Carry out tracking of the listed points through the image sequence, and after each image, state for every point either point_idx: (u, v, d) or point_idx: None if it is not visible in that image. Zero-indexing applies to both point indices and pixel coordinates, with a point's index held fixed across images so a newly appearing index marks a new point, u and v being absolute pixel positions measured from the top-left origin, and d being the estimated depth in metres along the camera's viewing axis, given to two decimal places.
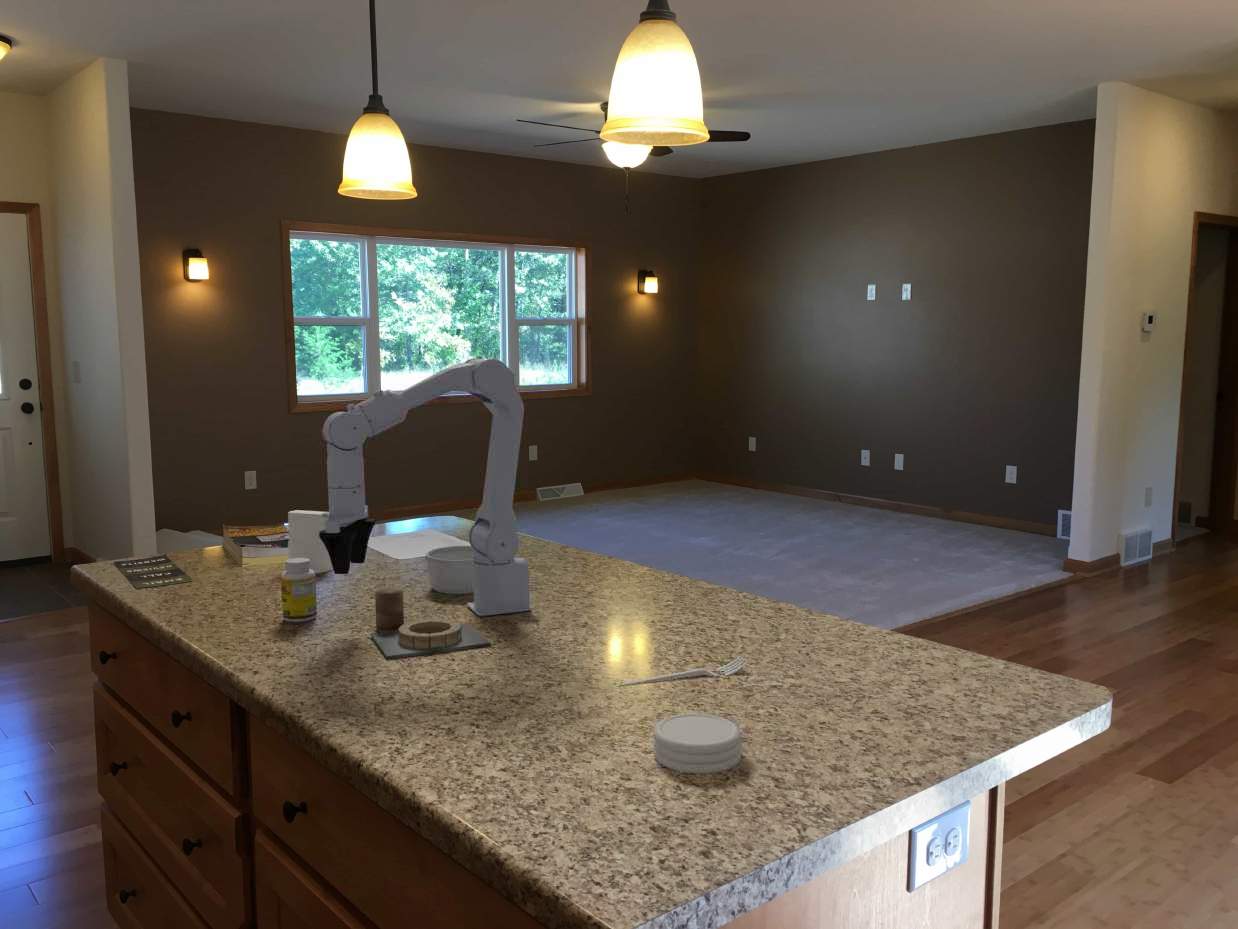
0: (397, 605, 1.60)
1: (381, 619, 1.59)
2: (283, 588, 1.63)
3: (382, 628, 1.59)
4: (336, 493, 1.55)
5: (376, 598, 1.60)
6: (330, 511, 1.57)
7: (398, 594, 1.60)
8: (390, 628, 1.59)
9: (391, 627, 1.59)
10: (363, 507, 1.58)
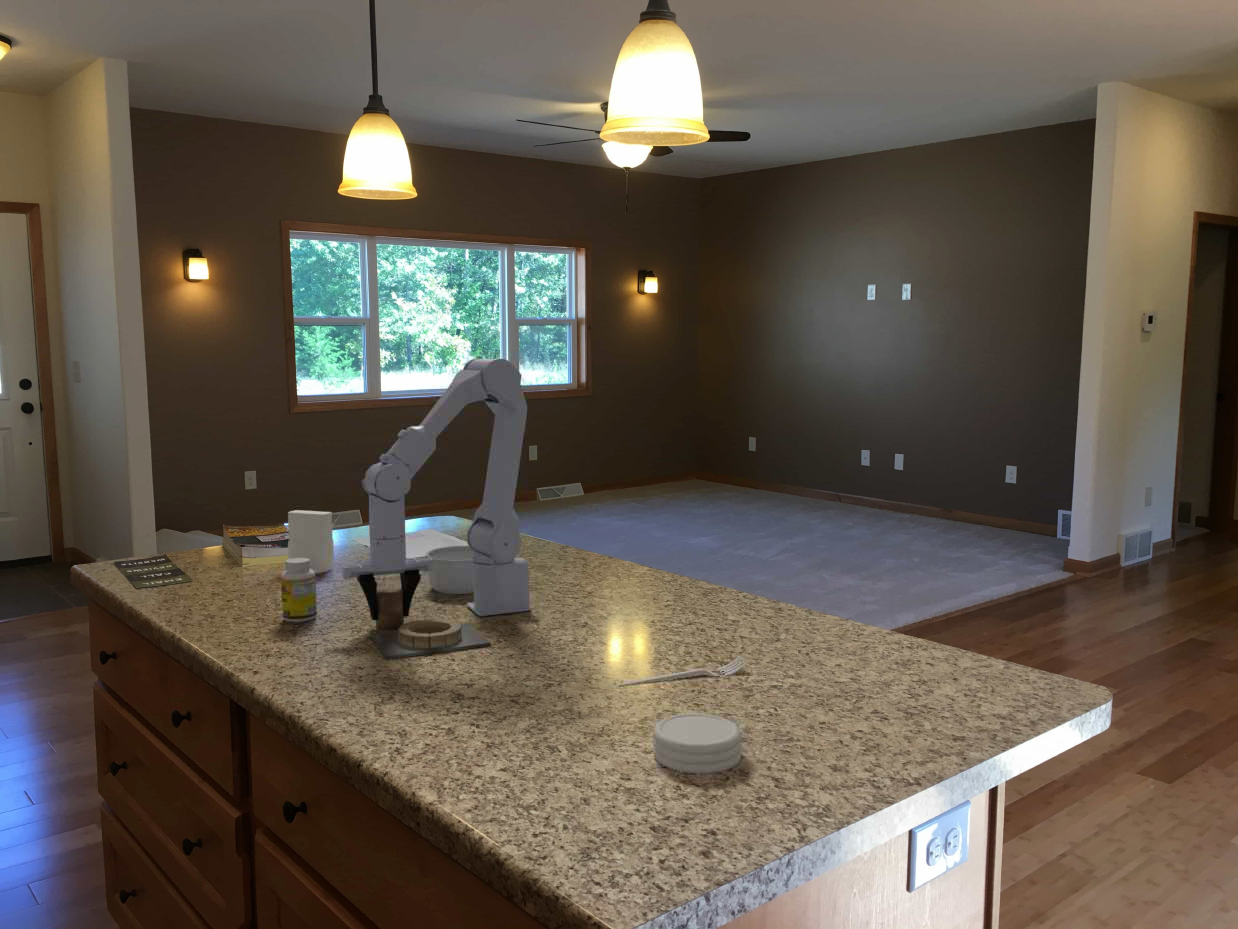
0: (397, 605, 1.60)
1: (381, 619, 1.59)
2: (283, 588, 1.63)
3: (382, 628, 1.59)
4: None
5: (376, 598, 1.60)
6: None
7: (398, 594, 1.60)
8: (390, 628, 1.59)
9: (391, 627, 1.59)
10: (389, 560, 1.57)
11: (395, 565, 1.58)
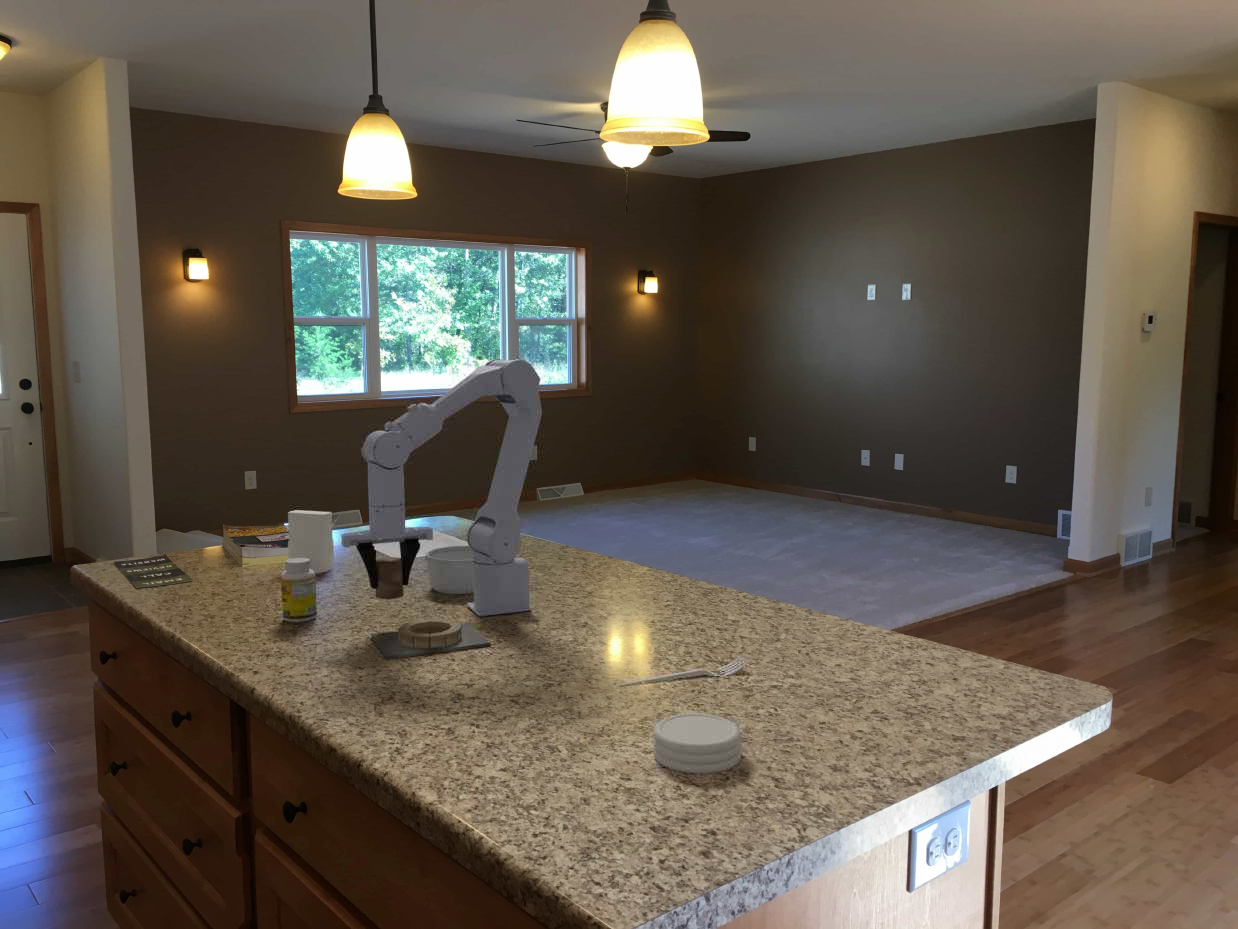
0: (397, 573, 1.59)
1: (381, 587, 1.59)
2: (283, 588, 1.63)
3: (382, 596, 1.59)
4: None
5: None
6: None
7: (397, 562, 1.59)
8: (390, 596, 1.59)
9: (391, 595, 1.59)
10: (388, 528, 1.57)
11: (394, 533, 1.57)
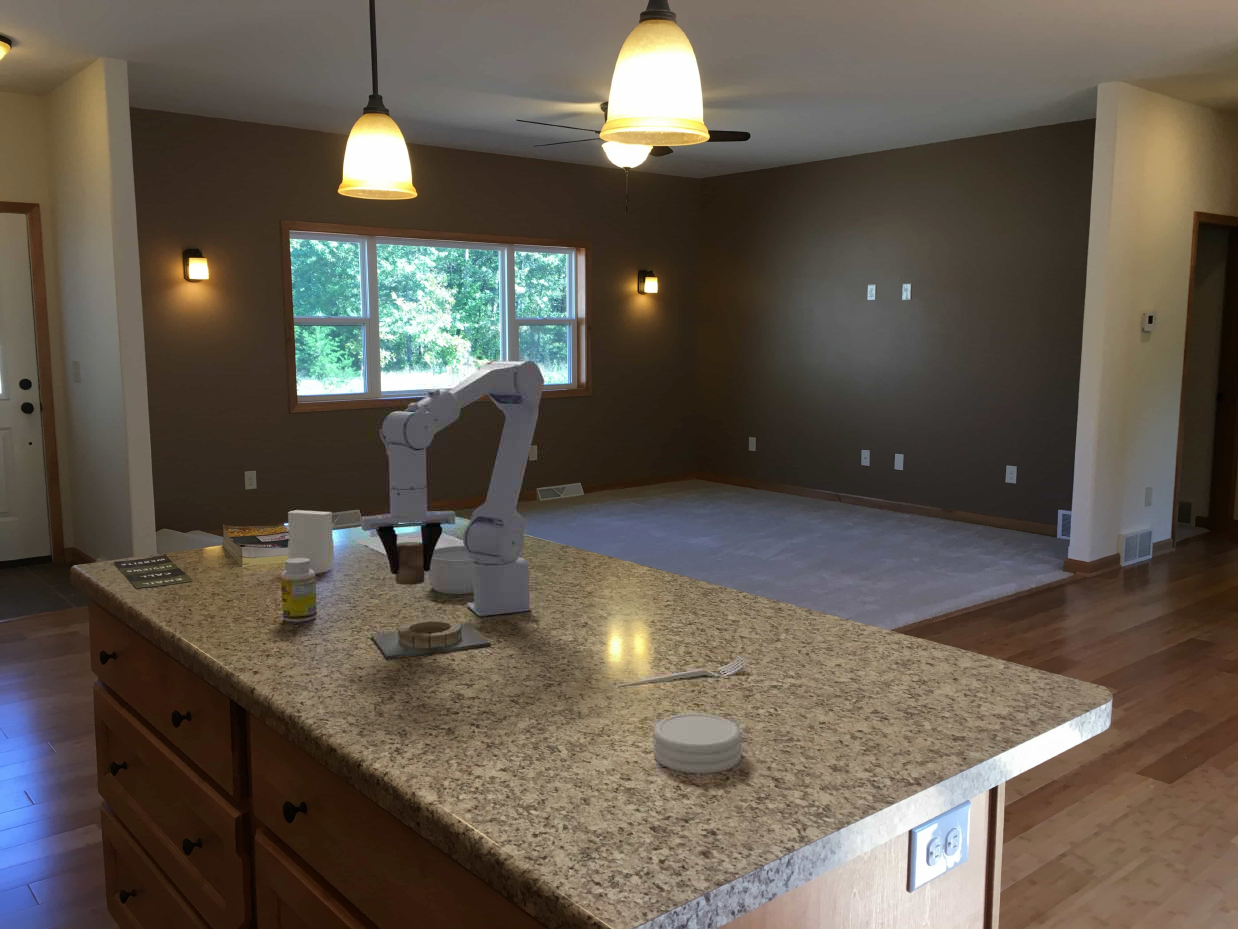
0: (418, 558, 1.54)
1: (401, 572, 1.54)
2: (283, 588, 1.63)
3: (402, 582, 1.54)
4: None
5: None
6: None
7: (419, 547, 1.54)
8: (411, 582, 1.54)
9: (412, 581, 1.54)
10: (410, 511, 1.52)
11: (416, 516, 1.52)
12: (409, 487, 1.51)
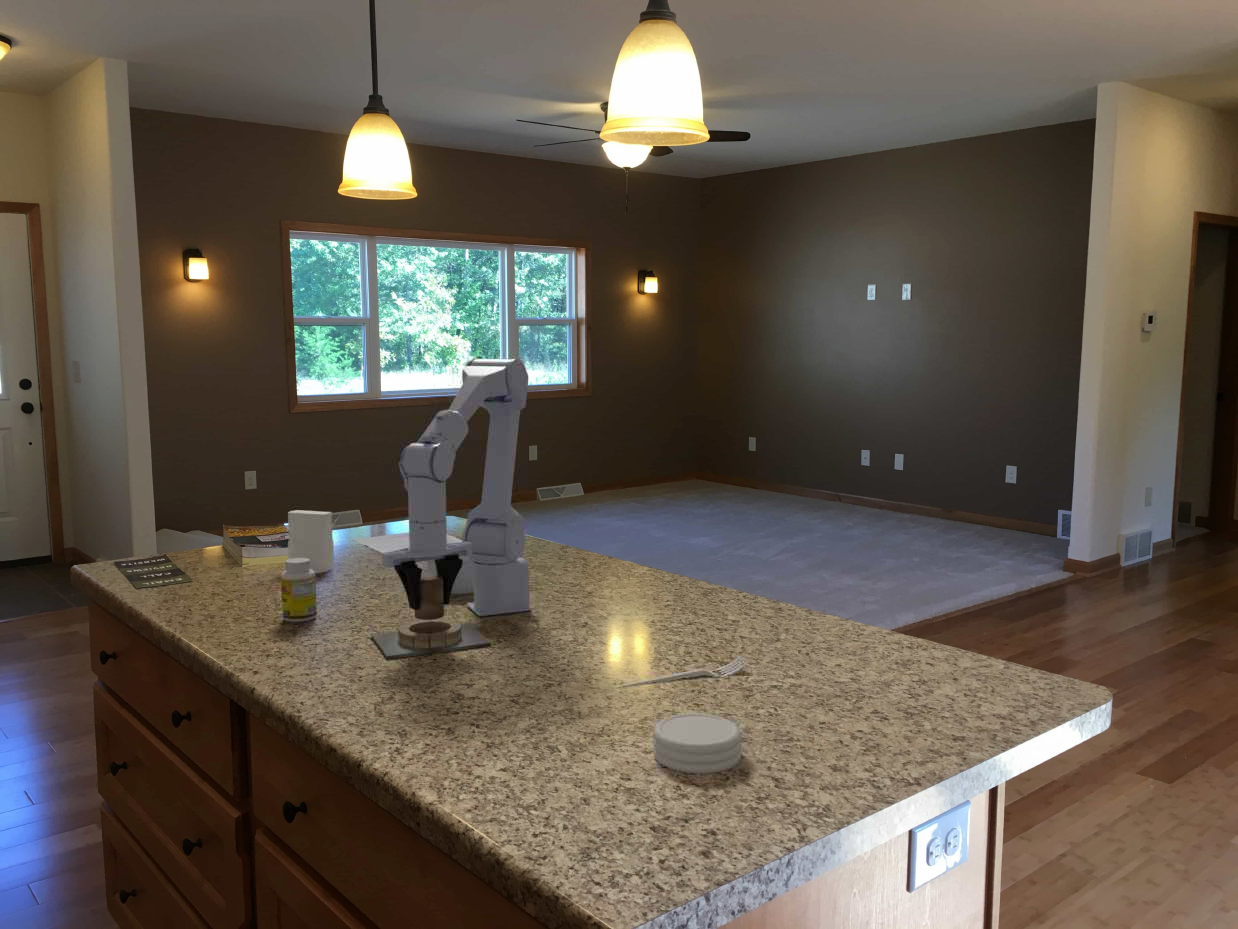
0: (440, 592, 1.51)
1: (424, 608, 1.50)
2: (283, 588, 1.63)
3: (425, 617, 1.50)
4: (409, 526, 1.50)
5: None
6: None
7: (441, 580, 1.51)
8: (434, 617, 1.51)
9: (435, 616, 1.51)
10: (434, 545, 1.49)
11: (440, 550, 1.50)
12: (433, 520, 1.48)
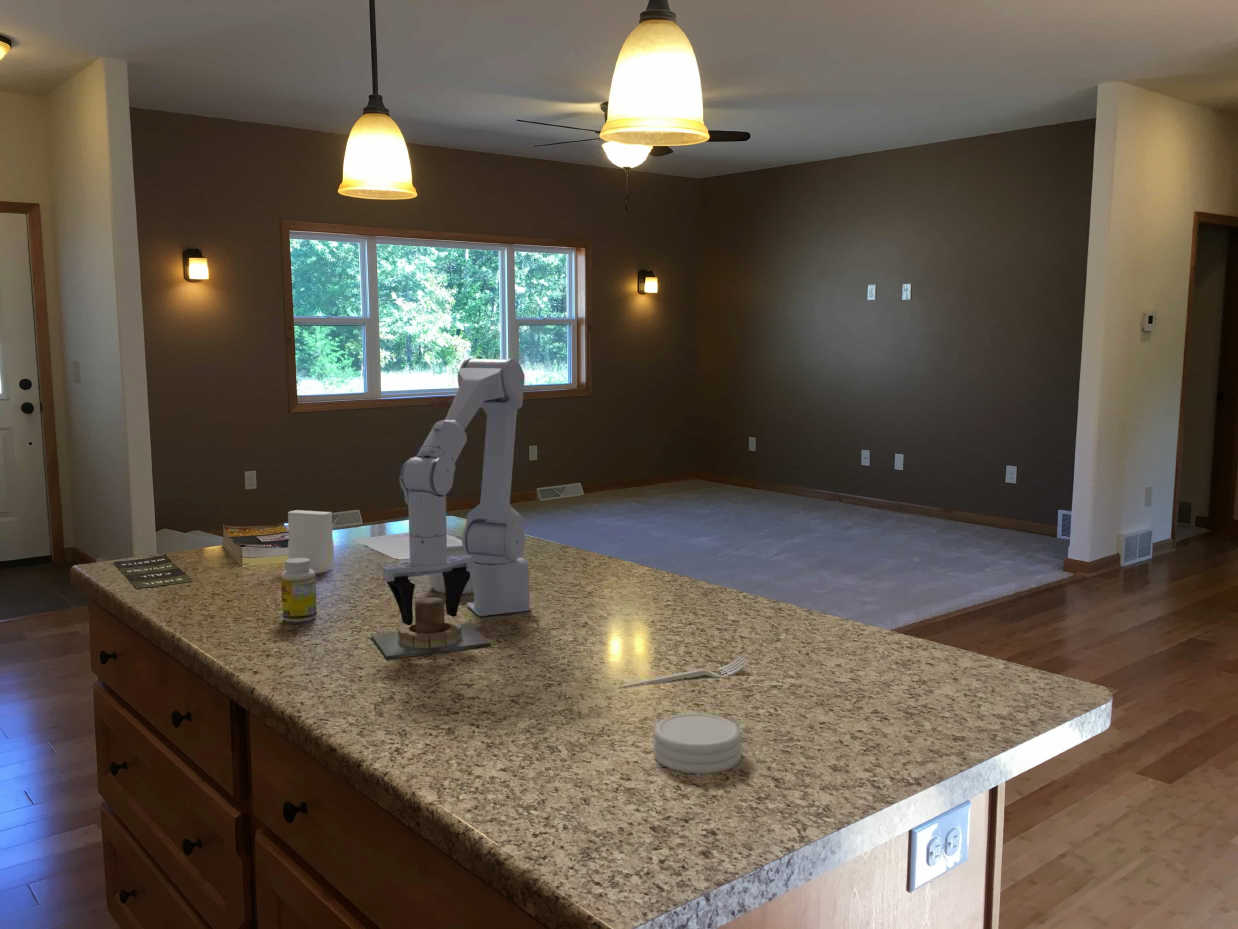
0: (441, 615, 1.52)
1: (425, 631, 1.51)
2: (283, 588, 1.63)
3: None
4: (409, 540, 1.50)
5: (418, 609, 1.51)
6: None
7: (441, 603, 1.52)
8: None
9: None
10: (434, 559, 1.49)
11: (440, 564, 1.50)
12: (434, 534, 1.49)
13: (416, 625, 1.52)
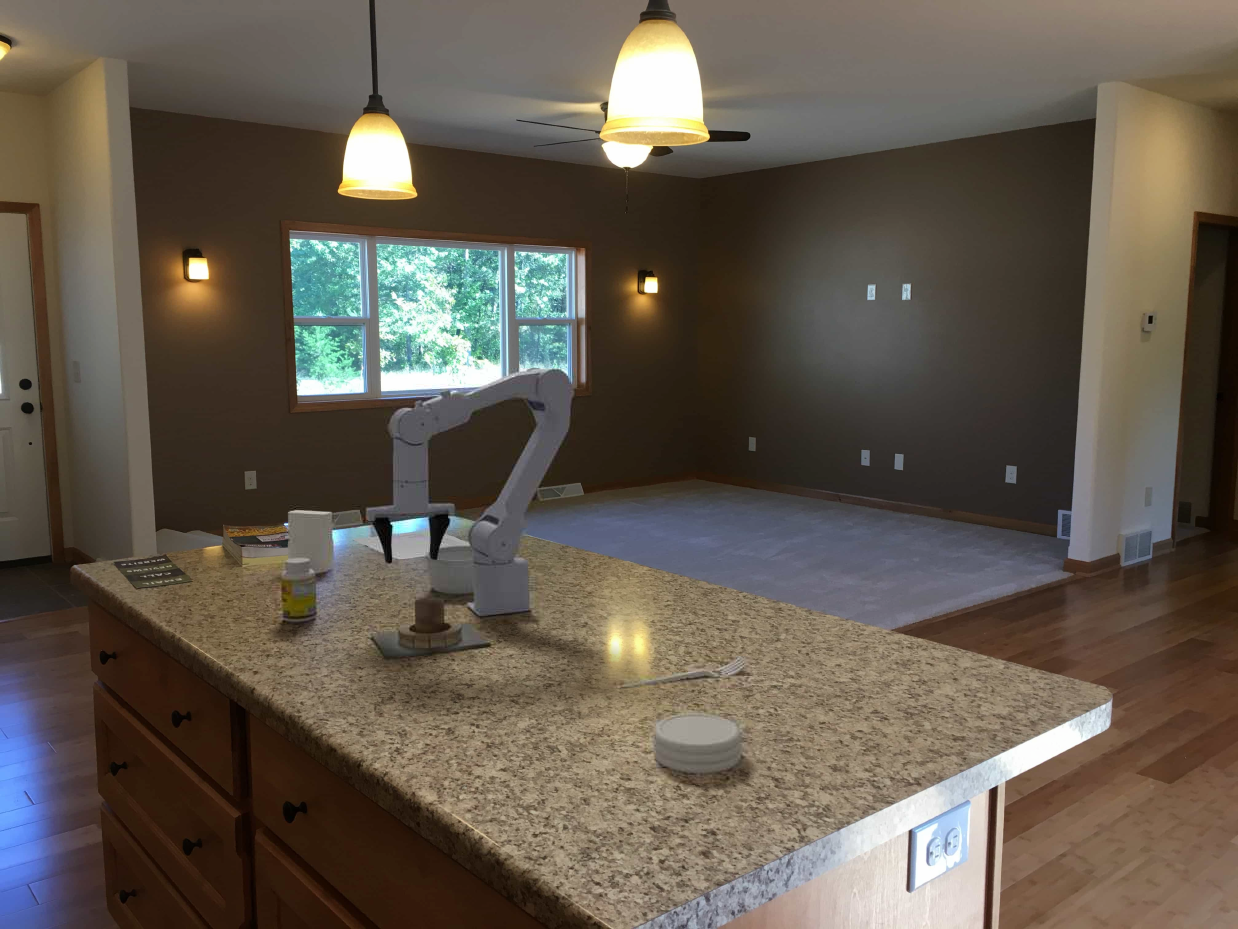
0: (441, 615, 1.52)
1: (425, 631, 1.51)
2: (283, 588, 1.63)
3: None
4: (393, 485, 1.62)
5: (418, 609, 1.51)
6: None
7: (441, 603, 1.52)
8: None
9: None
10: (413, 503, 1.60)
11: (418, 508, 1.60)
12: (404, 480, 1.59)
13: (416, 625, 1.52)
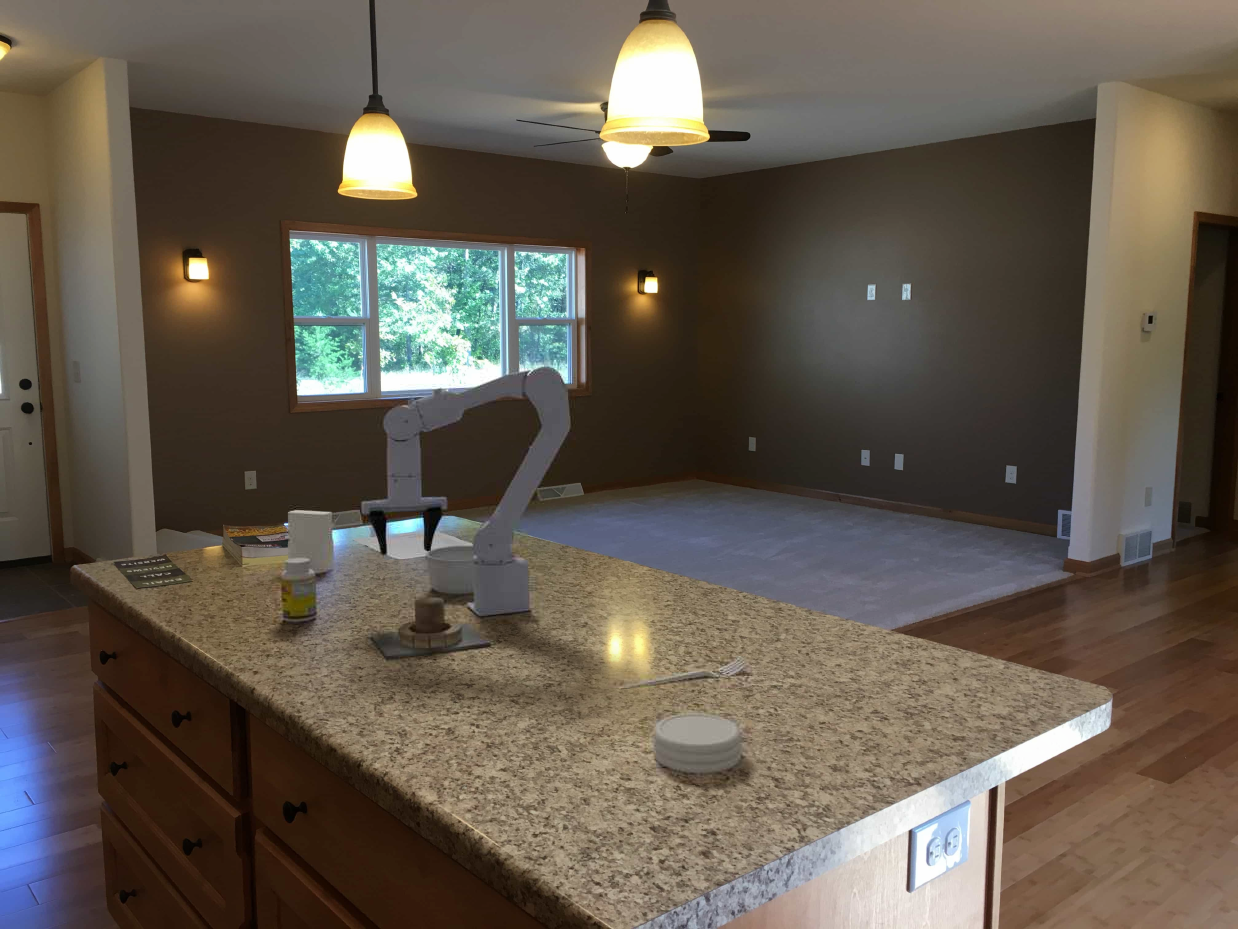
0: (441, 615, 1.52)
1: (425, 631, 1.51)
2: (283, 588, 1.63)
3: None
4: (387, 479, 1.68)
5: (418, 609, 1.51)
6: None
7: (441, 603, 1.52)
8: None
9: None
10: (406, 496, 1.67)
11: (411, 501, 1.67)
12: (391, 474, 1.66)
13: (416, 625, 1.52)
